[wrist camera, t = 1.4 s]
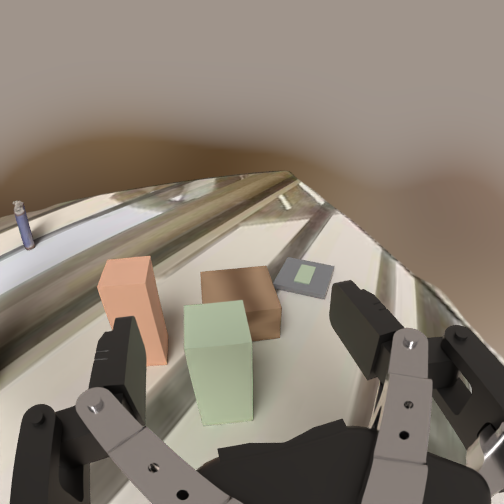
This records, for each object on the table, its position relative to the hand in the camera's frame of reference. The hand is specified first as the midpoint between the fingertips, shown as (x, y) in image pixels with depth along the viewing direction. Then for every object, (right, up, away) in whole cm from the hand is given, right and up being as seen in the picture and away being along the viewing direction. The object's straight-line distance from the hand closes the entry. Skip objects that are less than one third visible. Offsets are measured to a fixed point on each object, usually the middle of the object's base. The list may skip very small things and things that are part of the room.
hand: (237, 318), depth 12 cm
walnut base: (-1, -6, +30) cm, 31 cm away
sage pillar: (-2, -13, +18) cm, 23 cm away
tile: (+9, -2, +38) cm, 39 cm away
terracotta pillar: (-12, -10, +25) cm, 29 cm away
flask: (-52, +5, +49) cm, 72 cm away
